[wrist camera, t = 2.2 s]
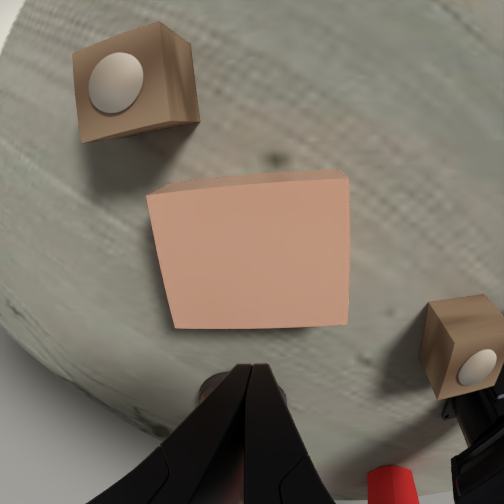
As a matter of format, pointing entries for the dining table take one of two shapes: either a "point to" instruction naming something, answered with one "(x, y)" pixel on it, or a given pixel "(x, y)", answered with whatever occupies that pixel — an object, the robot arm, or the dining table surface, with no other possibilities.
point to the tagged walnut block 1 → (134, 84)
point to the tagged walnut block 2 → (462, 345)
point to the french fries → (391, 486)
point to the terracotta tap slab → (255, 249)
